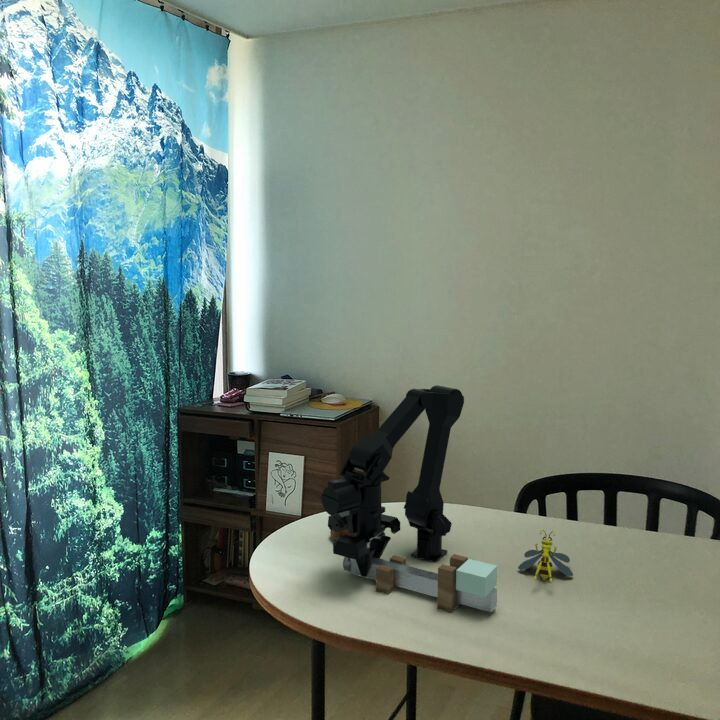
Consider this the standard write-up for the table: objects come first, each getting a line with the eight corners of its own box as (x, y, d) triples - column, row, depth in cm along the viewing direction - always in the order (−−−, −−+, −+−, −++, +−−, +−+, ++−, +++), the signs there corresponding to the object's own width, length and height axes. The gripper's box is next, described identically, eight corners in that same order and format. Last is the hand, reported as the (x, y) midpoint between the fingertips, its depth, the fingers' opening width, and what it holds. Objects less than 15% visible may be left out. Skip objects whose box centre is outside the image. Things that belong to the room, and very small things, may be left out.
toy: (514, 557, 145) (521, 524, 159) (513, 594, 147) (520, 558, 161) (573, 565, 142) (575, 531, 156) (571, 602, 144) (573, 565, 158)
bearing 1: (393, 576, 153) (394, 554, 152) (406, 580, 151) (406, 558, 151) (376, 591, 146) (376, 568, 146) (388, 594, 145) (388, 571, 144)
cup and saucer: (322, 544, 170) (322, 519, 170) (342, 526, 181) (342, 503, 181) (368, 552, 166) (368, 527, 165) (386, 533, 177) (386, 510, 176)
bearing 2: (453, 593, 146) (454, 553, 144) (466, 596, 144) (467, 557, 143) (437, 608, 139) (437, 567, 138) (451, 612, 138) (452, 571, 136)
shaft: (352, 566, 156) (352, 549, 155) (497, 605, 139) (498, 586, 138) (342, 573, 153) (342, 555, 152) (490, 614, 135) (490, 595, 135)
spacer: (468, 577, 142) (468, 558, 142) (496, 585, 139) (497, 565, 139) (456, 589, 137) (456, 570, 137) (485, 597, 134) (485, 577, 134)
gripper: (358, 484, 161) (358, 549, 164) (311, 509, 146) (311, 581, 148) (401, 493, 156) (401, 560, 158) (356, 520, 140) (357, 594, 142)
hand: (367, 573), depth 152 cm, fingers closed on shaft, 3 cm apart
